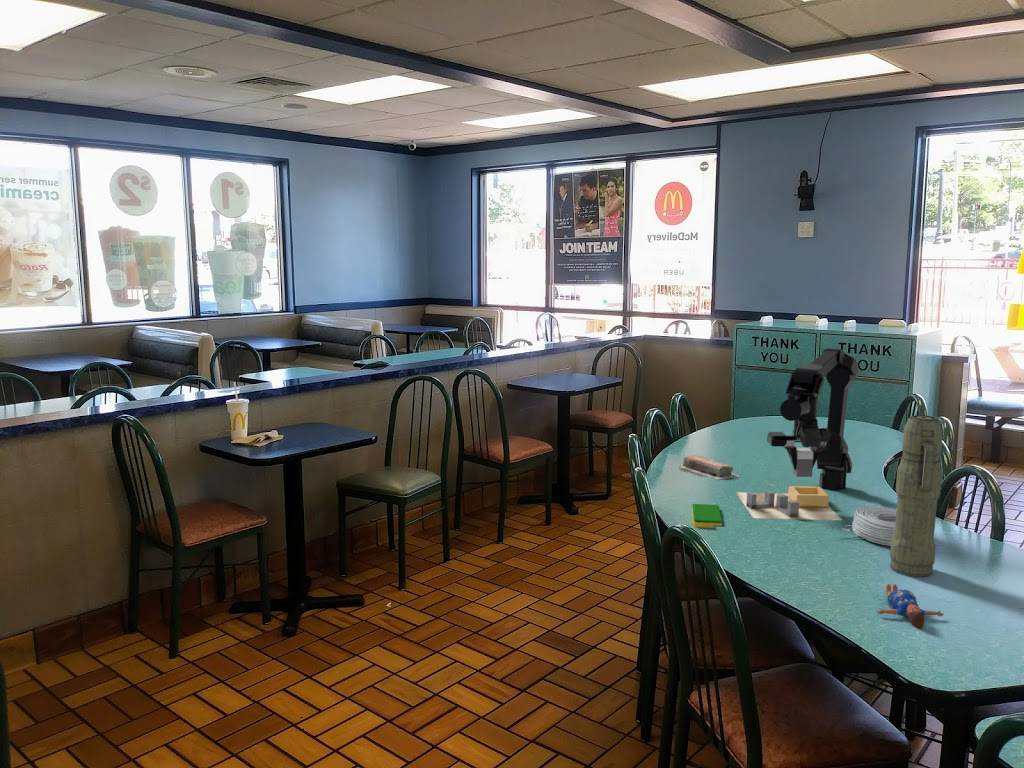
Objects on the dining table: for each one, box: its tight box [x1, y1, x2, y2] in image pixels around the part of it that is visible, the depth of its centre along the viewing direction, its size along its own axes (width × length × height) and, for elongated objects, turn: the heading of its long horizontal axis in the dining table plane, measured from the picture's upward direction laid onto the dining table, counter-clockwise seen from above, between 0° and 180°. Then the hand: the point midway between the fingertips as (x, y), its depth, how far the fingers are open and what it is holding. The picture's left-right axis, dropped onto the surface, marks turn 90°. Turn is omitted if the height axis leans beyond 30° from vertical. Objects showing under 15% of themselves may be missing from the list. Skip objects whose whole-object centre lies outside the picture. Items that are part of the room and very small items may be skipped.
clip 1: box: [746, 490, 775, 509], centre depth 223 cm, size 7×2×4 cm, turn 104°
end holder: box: [787, 485, 830, 508], centre depth 226 cm, size 8×8×4 cm
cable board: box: [735, 491, 843, 521], centre depth 225 cm, size 23×23×1 cm
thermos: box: [889, 414, 943, 578], centre depth 179 cm, size 9×12×35 cm
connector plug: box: [792, 447, 814, 478], centre depth 222 cm, size 4×4×7 cm
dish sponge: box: [691, 503, 723, 529], centre depth 216 cm, size 7×14×2 cm, turn 169°
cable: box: [842, 506, 897, 547], centre depth 202 cm, size 18×18×6 cm
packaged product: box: [678, 454, 741, 481], centre depth 259 cm, size 18×5×10 cm
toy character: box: [877, 583, 945, 630], centre depth 160 cm, size 12×5×15 cm
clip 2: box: [776, 495, 799, 517], centre depth 218 cm, size 7×2×4 cm, turn 12°
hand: (802, 469), depth 222 cm, fingers closed on connector plug, 4 cm apart
